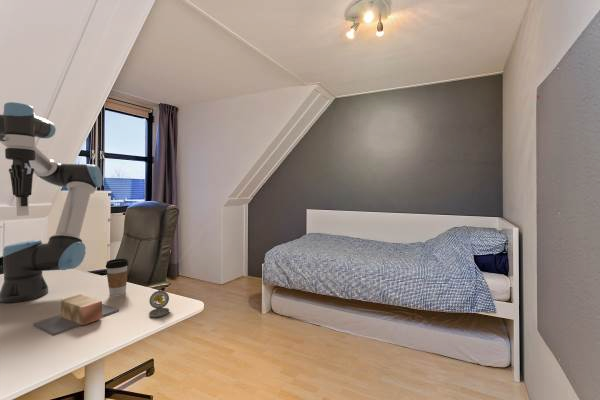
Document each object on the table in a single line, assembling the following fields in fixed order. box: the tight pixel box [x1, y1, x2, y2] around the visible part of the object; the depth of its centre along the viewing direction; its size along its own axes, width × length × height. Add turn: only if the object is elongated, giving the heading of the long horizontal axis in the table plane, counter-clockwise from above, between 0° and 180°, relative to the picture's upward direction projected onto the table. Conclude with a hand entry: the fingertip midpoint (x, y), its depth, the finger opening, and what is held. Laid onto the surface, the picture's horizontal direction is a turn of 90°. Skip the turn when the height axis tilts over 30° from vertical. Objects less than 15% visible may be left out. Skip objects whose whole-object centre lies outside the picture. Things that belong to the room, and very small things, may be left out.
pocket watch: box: [148, 283, 170, 318], centre depth 105 cm, size 8×8×10 cm
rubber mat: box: [32, 303, 120, 336], centre depth 100 cm, size 14×20×1 cm
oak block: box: [60, 294, 103, 326], centre depth 99 cm, size 6×6×14 cm
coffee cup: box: [105, 258, 130, 297], centre depth 123 cm, size 8×8×15 cm
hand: (22, 215), depth 100 cm, fingers closed
